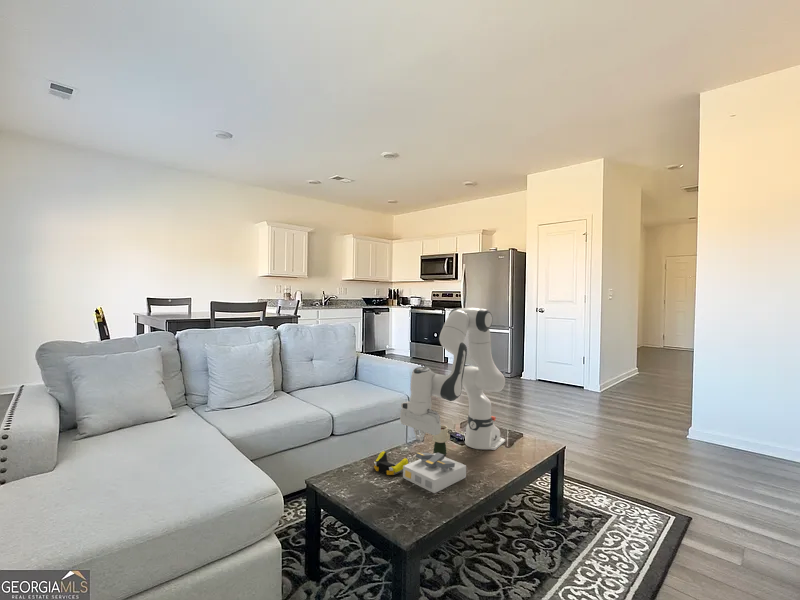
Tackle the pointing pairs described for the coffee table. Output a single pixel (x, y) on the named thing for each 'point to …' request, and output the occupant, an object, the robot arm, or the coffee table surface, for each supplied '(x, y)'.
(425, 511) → the coffee table surface
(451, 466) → the block
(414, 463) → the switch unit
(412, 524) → the coffee table surface
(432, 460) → the block
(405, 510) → the coffee table surface
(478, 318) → the robot arm
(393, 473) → the gaming controller
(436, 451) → the character mug
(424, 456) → the block
